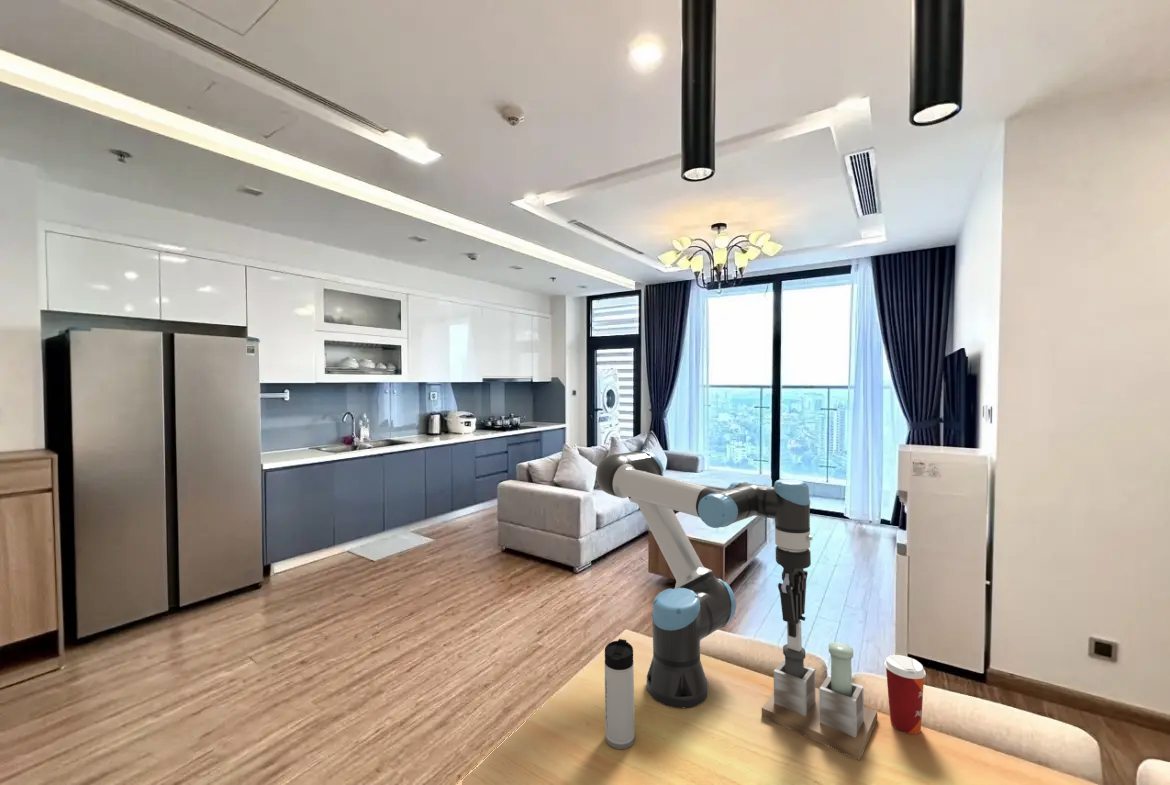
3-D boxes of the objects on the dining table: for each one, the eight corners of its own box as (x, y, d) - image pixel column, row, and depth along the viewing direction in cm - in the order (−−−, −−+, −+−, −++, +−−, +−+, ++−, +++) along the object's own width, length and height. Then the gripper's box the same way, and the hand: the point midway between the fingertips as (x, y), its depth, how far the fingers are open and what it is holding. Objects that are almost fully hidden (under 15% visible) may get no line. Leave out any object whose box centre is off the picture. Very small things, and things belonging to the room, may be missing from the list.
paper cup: (933, 740, 102) (932, 674, 102) (893, 735, 104) (892, 670, 104) (916, 715, 110) (915, 654, 110) (879, 711, 111) (878, 651, 111)
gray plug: (780, 697, 112) (779, 649, 112) (787, 688, 115) (787, 641, 115) (801, 706, 109) (801, 657, 109) (808, 696, 112) (808, 648, 112)
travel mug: (637, 731, 106) (636, 640, 106) (630, 752, 100) (629, 656, 100) (610, 725, 108) (609, 636, 108) (601, 746, 102) (600, 651, 102)
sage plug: (826, 699, 105) (825, 648, 105) (832, 689, 109) (832, 639, 109) (850, 708, 102) (850, 656, 102) (856, 698, 105) (855, 647, 105)
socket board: (761, 716, 110) (761, 675, 110) (787, 684, 122) (786, 647, 122) (859, 760, 97) (858, 713, 97) (877, 719, 109) (876, 677, 109)
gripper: (799, 558, 105) (801, 666, 105) (818, 543, 114) (820, 642, 114) (765, 550, 110) (767, 654, 110) (786, 537, 119) (788, 632, 119)
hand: (794, 648), depth 112 cm, fingers closed
